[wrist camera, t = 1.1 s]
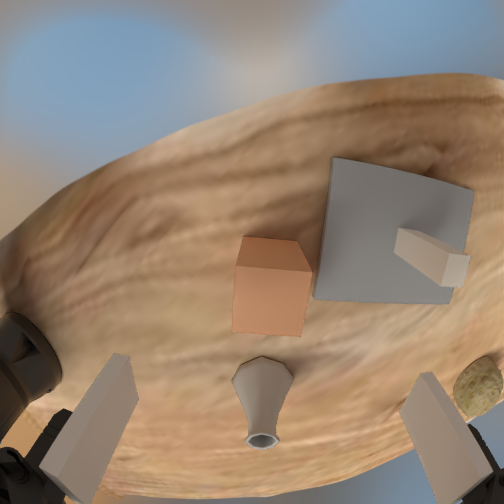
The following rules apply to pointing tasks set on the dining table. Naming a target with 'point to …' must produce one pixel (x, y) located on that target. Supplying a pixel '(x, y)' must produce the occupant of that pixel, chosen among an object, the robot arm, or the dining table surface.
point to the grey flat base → (391, 236)
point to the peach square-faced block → (270, 287)
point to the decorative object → (478, 387)
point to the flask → (262, 398)
